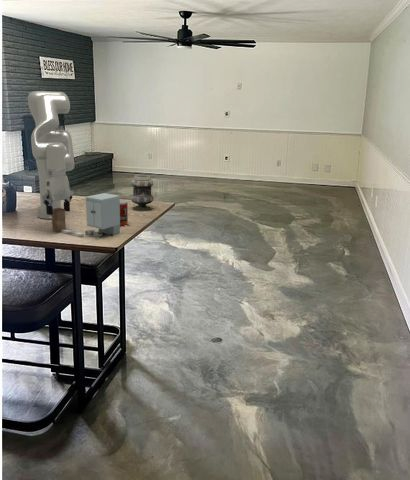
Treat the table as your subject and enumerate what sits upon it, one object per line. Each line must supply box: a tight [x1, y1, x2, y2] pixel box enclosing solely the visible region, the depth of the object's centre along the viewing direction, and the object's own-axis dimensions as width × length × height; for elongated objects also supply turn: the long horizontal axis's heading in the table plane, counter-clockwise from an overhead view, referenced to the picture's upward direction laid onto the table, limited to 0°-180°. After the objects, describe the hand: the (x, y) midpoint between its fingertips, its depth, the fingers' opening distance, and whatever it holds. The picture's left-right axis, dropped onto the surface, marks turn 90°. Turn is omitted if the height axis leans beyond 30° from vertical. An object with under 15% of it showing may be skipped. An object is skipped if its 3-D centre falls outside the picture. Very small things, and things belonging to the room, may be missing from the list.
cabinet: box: [85, 192, 121, 236], centre depth 211 cm, size 9×12×17 cm
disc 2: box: [92, 231, 103, 239], centre depth 209 cm, size 4×4×2 cm
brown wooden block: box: [51, 207, 84, 238], centre depth 210 cm, size 16×4×10 cm, turn 58°
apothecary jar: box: [130, 174, 154, 212], centre depth 260 cm, size 12×12×18 cm
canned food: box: [120, 199, 129, 227], centre depth 229 cm, size 8×8×11 cm
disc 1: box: [84, 229, 96, 237], centre depth 212 cm, size 4×4×2 cm
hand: (58, 212), depth 212 cm, fingers open, 9 cm apart
